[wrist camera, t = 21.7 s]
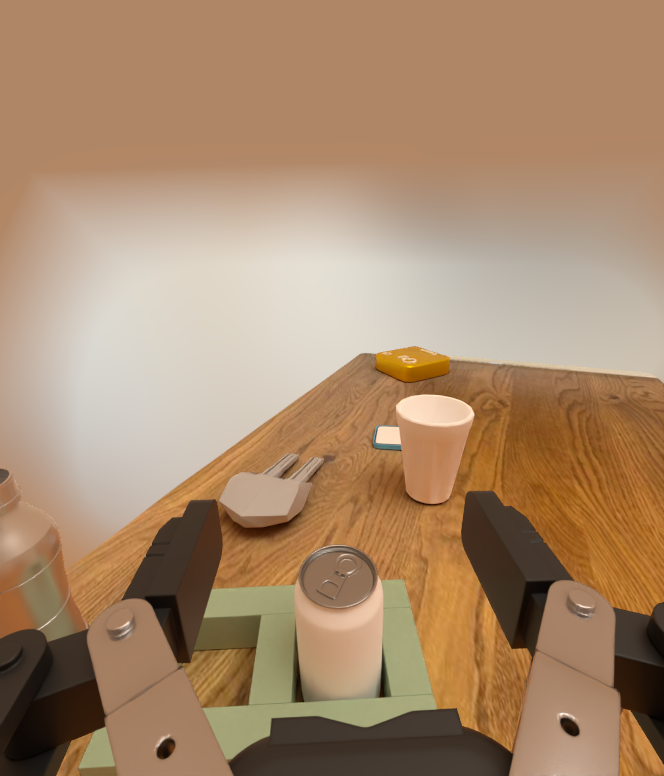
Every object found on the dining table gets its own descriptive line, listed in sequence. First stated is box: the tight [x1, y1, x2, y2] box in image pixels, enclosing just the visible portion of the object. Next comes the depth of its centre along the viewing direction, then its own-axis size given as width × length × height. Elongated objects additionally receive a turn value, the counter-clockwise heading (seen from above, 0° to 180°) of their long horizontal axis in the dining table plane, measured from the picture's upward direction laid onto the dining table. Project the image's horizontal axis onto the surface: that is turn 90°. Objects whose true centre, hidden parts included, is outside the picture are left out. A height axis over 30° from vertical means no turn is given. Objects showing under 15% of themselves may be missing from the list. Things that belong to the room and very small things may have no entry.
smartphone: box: [373, 425, 402, 450], centre depth 70 cm, size 8×1×15 cm
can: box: [294, 545, 383, 702], centre depth 30 cm, size 6×6×12 cm
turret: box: [219, 453, 324, 528], centre depth 55 cm, size 10×20×5 cm, turn 161°
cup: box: [396, 395, 474, 504], centre depth 53 cm, size 10×10×13 cm
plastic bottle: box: [0, 468, 90, 642], centre depth 29 cm, size 6×7×20 cm
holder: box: [78, 579, 437, 776], centre depth 31 cm, size 13×23×4 cm, turn 92°
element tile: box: [376, 346, 450, 382], centre depth 106 cm, size 15×15×5 cm
